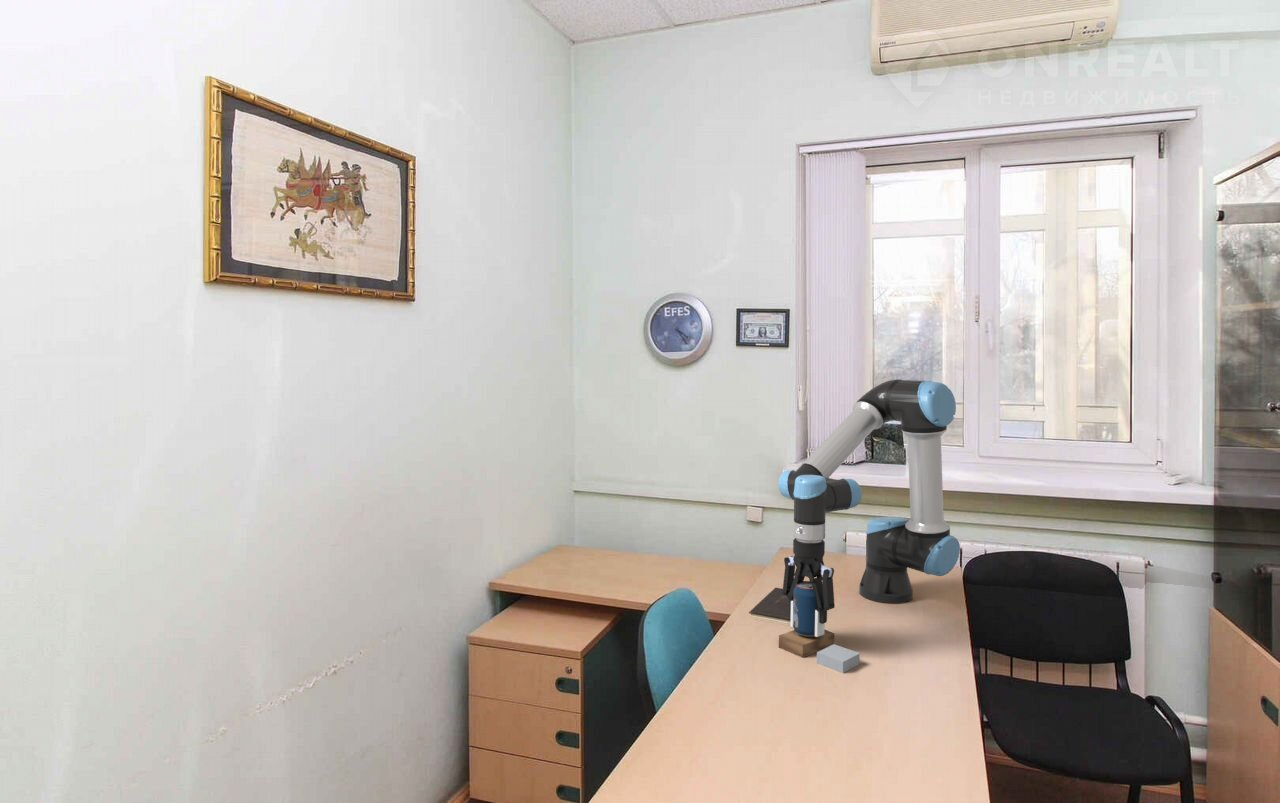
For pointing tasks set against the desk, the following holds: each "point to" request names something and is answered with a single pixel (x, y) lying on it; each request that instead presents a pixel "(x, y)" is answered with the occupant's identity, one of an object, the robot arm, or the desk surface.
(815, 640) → the walnut block
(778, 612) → the hardcover book
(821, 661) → the slate block
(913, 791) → the desk surface
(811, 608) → the soda can
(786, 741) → the desk surface
